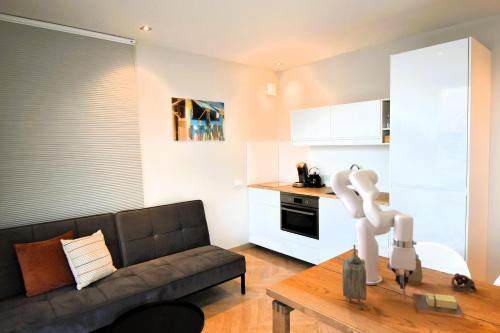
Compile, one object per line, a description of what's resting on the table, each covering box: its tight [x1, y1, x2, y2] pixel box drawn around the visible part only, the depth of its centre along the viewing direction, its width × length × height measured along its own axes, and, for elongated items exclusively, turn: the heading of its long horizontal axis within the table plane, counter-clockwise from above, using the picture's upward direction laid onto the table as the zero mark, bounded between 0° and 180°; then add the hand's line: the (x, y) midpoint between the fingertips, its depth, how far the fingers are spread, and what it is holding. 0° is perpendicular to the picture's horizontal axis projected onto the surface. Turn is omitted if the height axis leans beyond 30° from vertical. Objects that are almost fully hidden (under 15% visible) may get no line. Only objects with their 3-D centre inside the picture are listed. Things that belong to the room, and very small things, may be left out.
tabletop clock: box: [342, 244, 367, 310], centre depth 131 cm, size 14×9×25 cm, turn 163°
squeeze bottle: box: [403, 246, 424, 285], centre depth 147 cm, size 8×8×18 cm
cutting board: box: [411, 292, 465, 317], centre depth 126 cm, size 16×14×1 cm
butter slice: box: [425, 292, 434, 306], centre depth 127 cm, size 2×5×3 cm, turn 160°
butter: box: [433, 293, 458, 309], centre depth 125 cm, size 7×5×3 cm
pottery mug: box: [451, 272, 478, 293], centre depth 139 cm, size 12×10×8 cm
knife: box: [398, 273, 407, 301], centre depth 130 cm, size 2×18×3 cm, turn 160°
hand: (401, 283), depth 134 cm, fingers closed on knife, 2 cm apart
